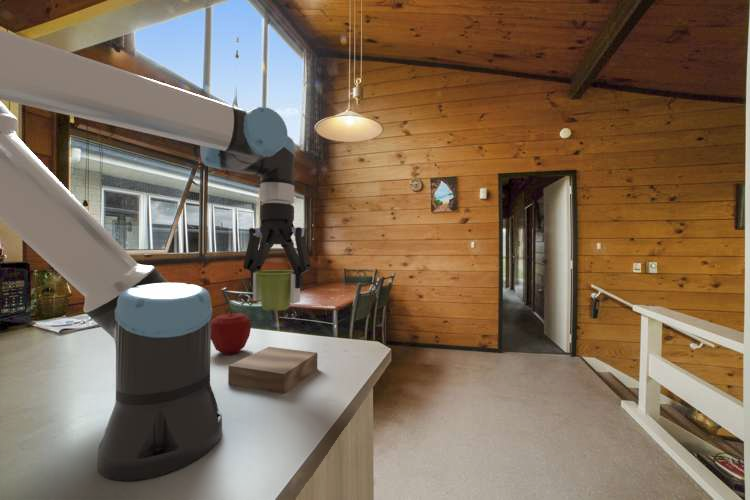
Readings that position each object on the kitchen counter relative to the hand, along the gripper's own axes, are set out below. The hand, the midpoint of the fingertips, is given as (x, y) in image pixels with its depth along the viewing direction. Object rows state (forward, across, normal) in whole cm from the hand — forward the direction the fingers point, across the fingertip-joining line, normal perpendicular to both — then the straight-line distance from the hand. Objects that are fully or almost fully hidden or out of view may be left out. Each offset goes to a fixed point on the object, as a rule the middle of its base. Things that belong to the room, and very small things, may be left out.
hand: (276, 301), depth 72 cm
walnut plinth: (+17, 0, 0) cm, 17 cm away
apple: (+17, +22, -10) cm, 30 cm away
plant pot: (+2, 0, 0) cm, 2 cm away
